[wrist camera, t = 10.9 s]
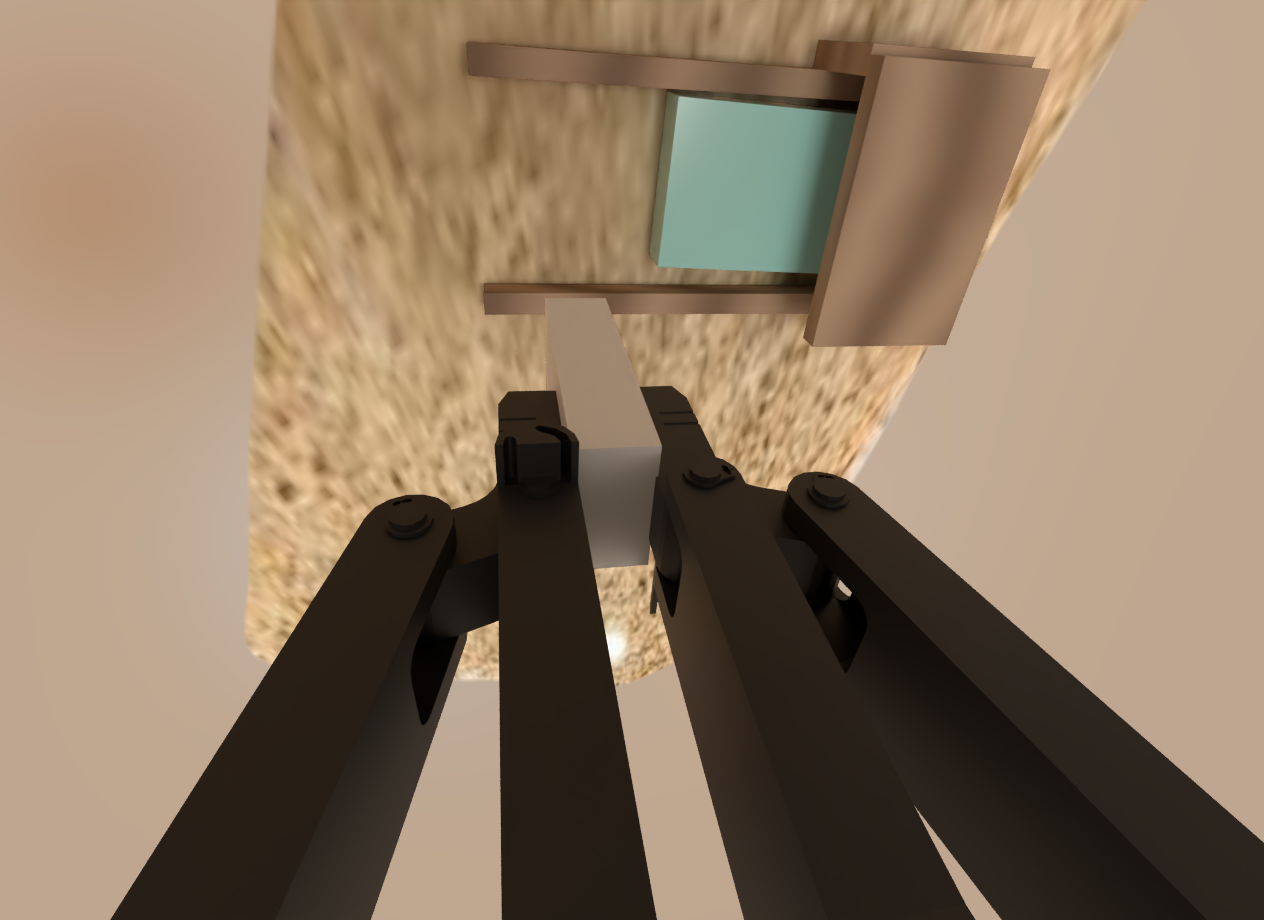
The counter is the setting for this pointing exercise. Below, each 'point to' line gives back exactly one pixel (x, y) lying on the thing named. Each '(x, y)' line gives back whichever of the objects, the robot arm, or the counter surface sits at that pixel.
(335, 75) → the counter surface
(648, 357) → the counter surface
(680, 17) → the counter surface
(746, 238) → the tile
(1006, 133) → the overhang
